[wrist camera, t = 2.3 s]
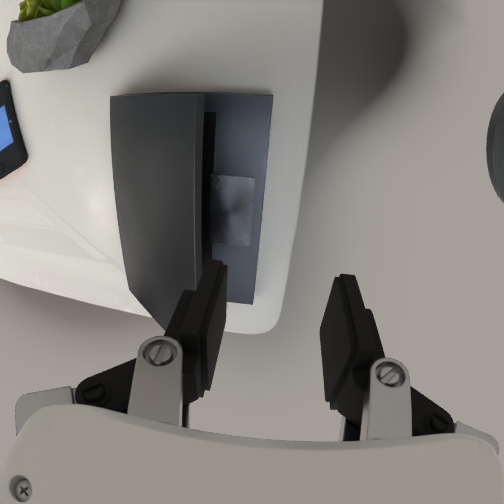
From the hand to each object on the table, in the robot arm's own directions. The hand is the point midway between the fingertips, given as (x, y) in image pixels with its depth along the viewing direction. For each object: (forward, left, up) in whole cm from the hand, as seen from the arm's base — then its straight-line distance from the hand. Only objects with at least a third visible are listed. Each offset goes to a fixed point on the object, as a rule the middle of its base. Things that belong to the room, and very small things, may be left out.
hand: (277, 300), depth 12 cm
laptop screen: (+13, -1, -16) cm, 21 cm away
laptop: (+12, 0, -23) cm, 26 cm away
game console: (+35, -26, -24) cm, 50 cm away
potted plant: (+11, -28, -24) cm, 38 cm away
